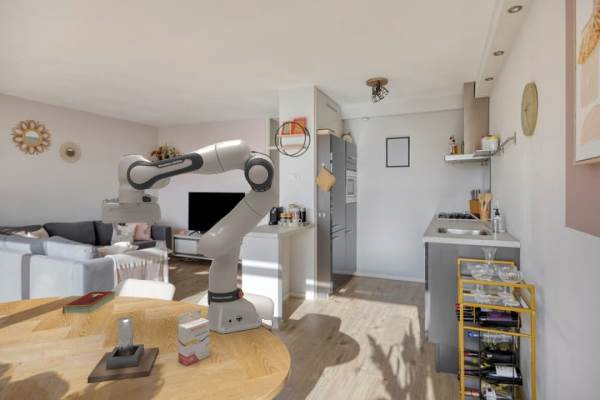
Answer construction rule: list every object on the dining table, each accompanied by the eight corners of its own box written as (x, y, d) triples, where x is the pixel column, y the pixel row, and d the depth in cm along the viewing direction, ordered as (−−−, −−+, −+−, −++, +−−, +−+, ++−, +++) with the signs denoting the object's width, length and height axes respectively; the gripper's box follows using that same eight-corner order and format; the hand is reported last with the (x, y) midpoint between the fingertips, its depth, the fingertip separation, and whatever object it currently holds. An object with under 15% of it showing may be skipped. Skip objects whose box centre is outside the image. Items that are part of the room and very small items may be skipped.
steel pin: (135, 357, 105) (134, 316, 105) (131, 363, 102) (130, 321, 101) (121, 358, 105) (120, 317, 104) (117, 365, 101) (116, 322, 100)
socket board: (158, 351, 112) (158, 347, 112) (148, 375, 98) (148, 370, 98) (106, 356, 109) (105, 352, 109) (87, 382, 94) (87, 377, 94)
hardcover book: (62, 315, 147) (62, 305, 147) (91, 299, 168) (91, 290, 168) (90, 314, 147) (90, 305, 147) (115, 299, 168) (115, 290, 168)
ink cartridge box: (186, 366, 103) (186, 319, 102) (177, 361, 106) (177, 315, 105) (210, 355, 109) (209, 311, 109) (201, 351, 112) (200, 307, 112)
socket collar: (144, 353, 108) (144, 343, 108) (137, 366, 100) (137, 356, 100) (115, 356, 106) (115, 346, 106) (106, 369, 98) (106, 359, 98)
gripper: (98, 198, 121) (98, 236, 121) (158, 198, 125) (159, 235, 126) (104, 198, 127) (104, 234, 127) (161, 197, 131) (162, 232, 132)
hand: (132, 234), depth 126 cm, fingers open, 8 cm apart
